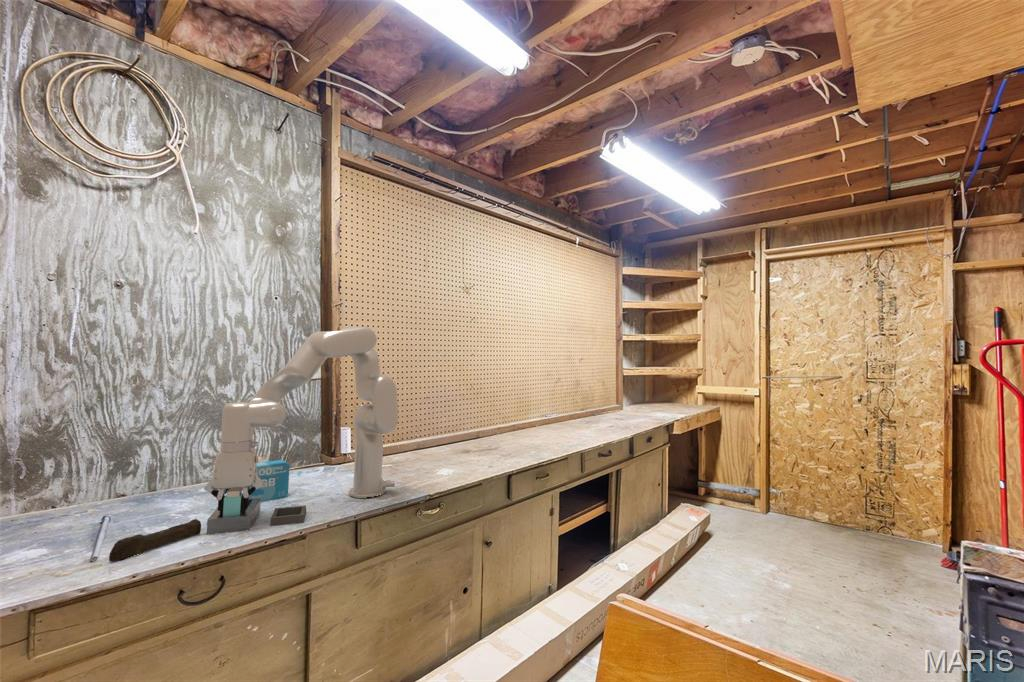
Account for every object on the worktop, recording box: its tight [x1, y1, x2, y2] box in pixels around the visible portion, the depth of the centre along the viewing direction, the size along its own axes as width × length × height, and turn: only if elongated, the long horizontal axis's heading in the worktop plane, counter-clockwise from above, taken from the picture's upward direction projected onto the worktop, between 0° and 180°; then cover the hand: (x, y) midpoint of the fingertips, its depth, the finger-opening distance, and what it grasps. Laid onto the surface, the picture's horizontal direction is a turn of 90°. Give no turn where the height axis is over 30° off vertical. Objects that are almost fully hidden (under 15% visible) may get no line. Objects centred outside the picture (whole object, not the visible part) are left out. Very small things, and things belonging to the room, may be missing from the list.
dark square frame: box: [269, 505, 307, 527], centre depth 127 cm, size 8×8×2 cm
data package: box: [249, 459, 290, 503], centre depth 144 cm, size 12×4×12 cm, turn 134°
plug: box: [223, 488, 243, 517], centre depth 120 cm, size 4×4×10 cm
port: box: [206, 498, 262, 535], centre depth 124 cm, size 10×16×5 cm, turn 21°
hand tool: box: [108, 518, 202, 562], centre depth 107 cm, size 19×4×5 cm, turn 155°
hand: (233, 511), depth 120 cm, fingers open, 4 cm apart
